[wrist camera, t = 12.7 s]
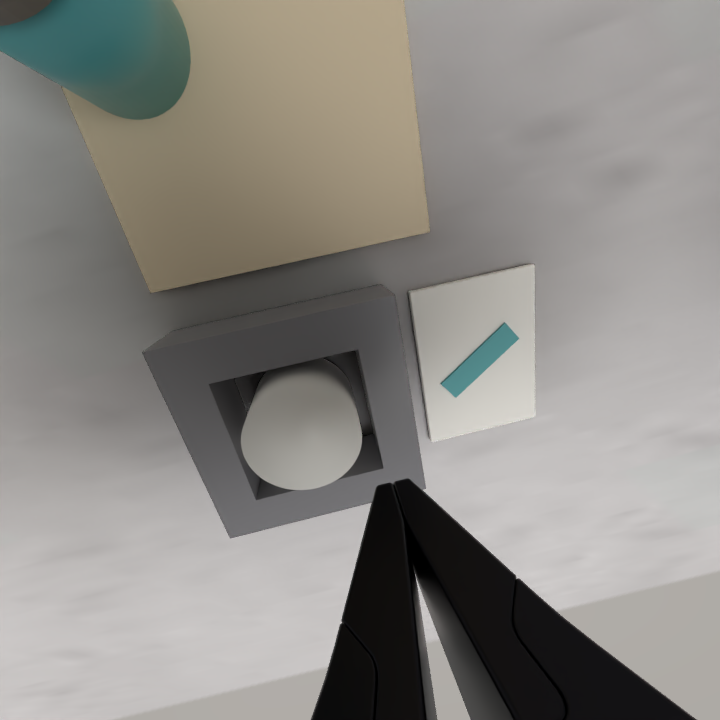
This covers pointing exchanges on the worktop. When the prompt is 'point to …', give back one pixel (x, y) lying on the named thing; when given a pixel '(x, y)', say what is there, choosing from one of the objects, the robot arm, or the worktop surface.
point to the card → (476, 351)
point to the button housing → (274, 350)
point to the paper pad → (269, 141)
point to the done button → (302, 426)
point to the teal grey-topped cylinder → (103, 50)
